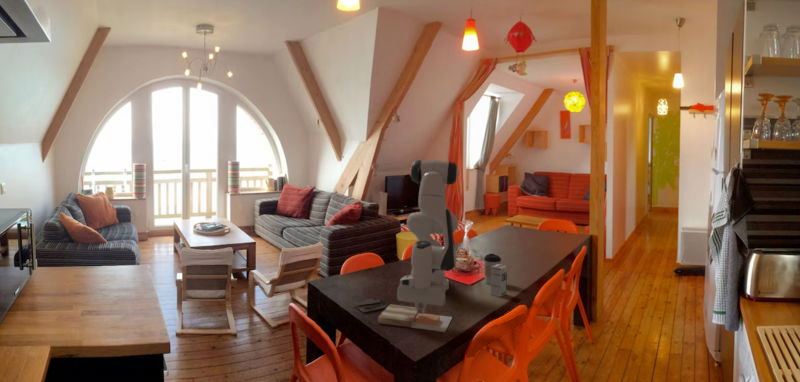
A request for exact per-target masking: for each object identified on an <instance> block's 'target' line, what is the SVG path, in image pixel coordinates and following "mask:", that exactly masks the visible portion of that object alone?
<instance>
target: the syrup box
mask: <svg viewBox="0 0 800 382" xmlns="http://www.w3.org/2000/svg"><path fill="white" fill-rule="evenodd" d="M507 277H508V266H507V265H505V264H501V263H500V264H497V265H494V266H492V267H491V285H490V295H491V296H495V297H497V298H498V297H499V298H501V297H503V296H506V295H507V286H508V285H507V284H508V283H507V280H508V279H507Z"/></svg>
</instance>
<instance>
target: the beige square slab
mask: <svg viewBox="0 0 800 382" xmlns="http://www.w3.org/2000/svg"><path fill="white" fill-rule="evenodd" d="M417 315H418V313H417V309H416V307H415V306H414V307H413V306H406V305H399V304H391V303H390V304H389V305H387V306H386V307H385V308H384V310H383V311H382V312H381V313H380V315H378V317H377V323H378V324H383V325H391V326H399V327H404V326H405V328H411V326H412V324H413V323H414V322H415V318H416V316H417Z"/></svg>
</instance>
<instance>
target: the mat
mask: <svg viewBox="0 0 800 382" xmlns="http://www.w3.org/2000/svg"><path fill="white" fill-rule="evenodd" d="M424 314H426V313H425V312H424ZM438 315H439V314H438ZM439 316H440V320H439V322H438V324H437V325H429V324H422V323H415V322H414V323H413V324H412V326H411V327H410V328H412V329H421V330H427V331H434V332H442V333H446V332H447V329H448V327H449V325H450V323H451V321H452V319H453V316H446V315H439Z"/></svg>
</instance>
